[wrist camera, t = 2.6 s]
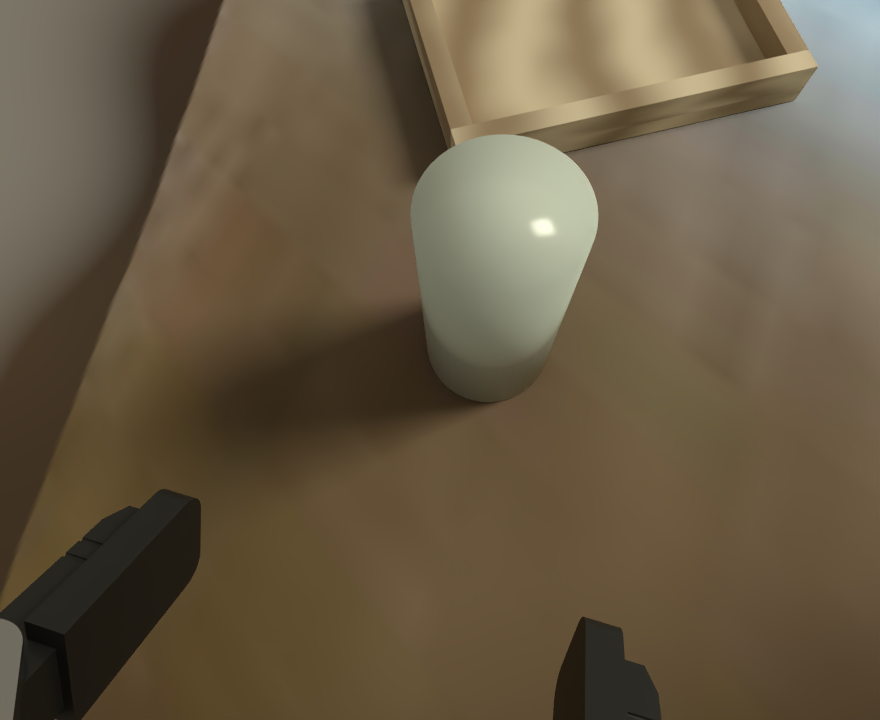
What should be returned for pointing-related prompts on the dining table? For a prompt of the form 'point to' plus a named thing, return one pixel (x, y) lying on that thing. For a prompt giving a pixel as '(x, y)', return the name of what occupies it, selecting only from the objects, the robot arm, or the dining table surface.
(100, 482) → the dining table surface
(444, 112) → the tray
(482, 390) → the sage domed cylinder
